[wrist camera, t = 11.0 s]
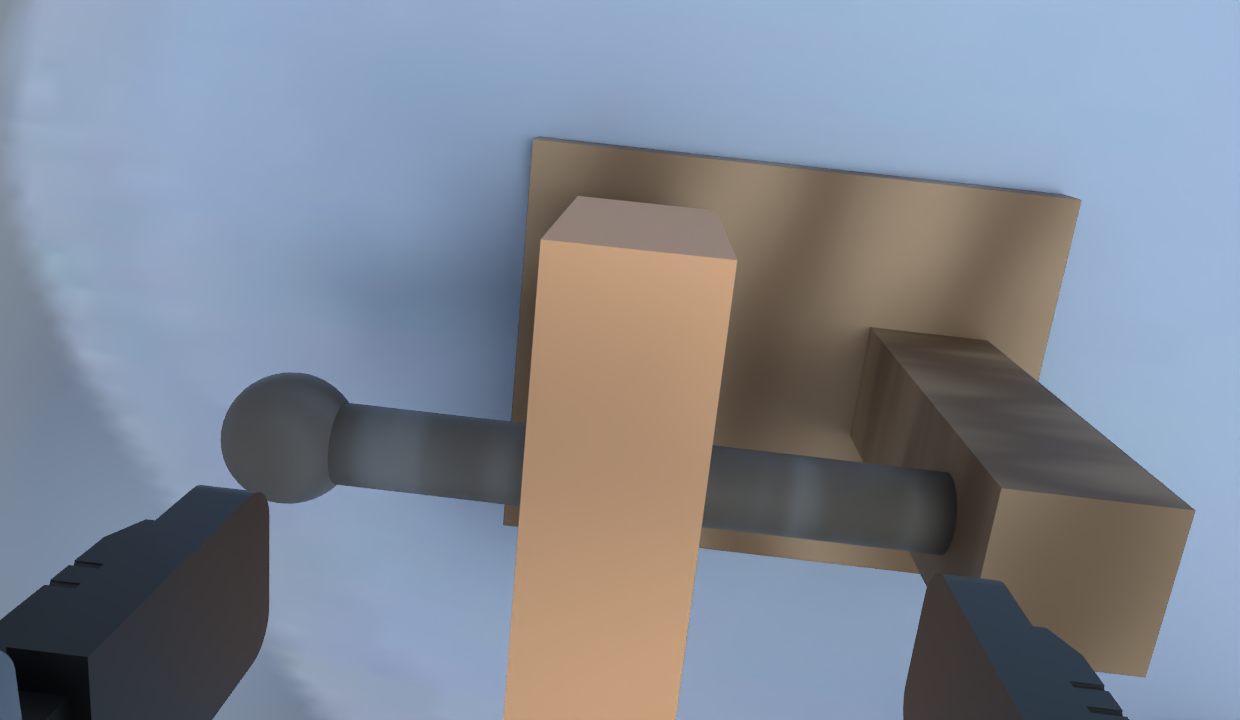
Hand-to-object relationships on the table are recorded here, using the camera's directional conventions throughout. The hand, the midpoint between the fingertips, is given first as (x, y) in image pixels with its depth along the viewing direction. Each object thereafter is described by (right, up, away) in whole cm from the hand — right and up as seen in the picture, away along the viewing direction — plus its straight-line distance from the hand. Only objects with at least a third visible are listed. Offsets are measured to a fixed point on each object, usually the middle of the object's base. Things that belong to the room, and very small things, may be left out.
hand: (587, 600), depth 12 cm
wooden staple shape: (+1, +2, +18) cm, 18 cm away
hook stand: (+3, +3, +23) cm, 24 cm away
